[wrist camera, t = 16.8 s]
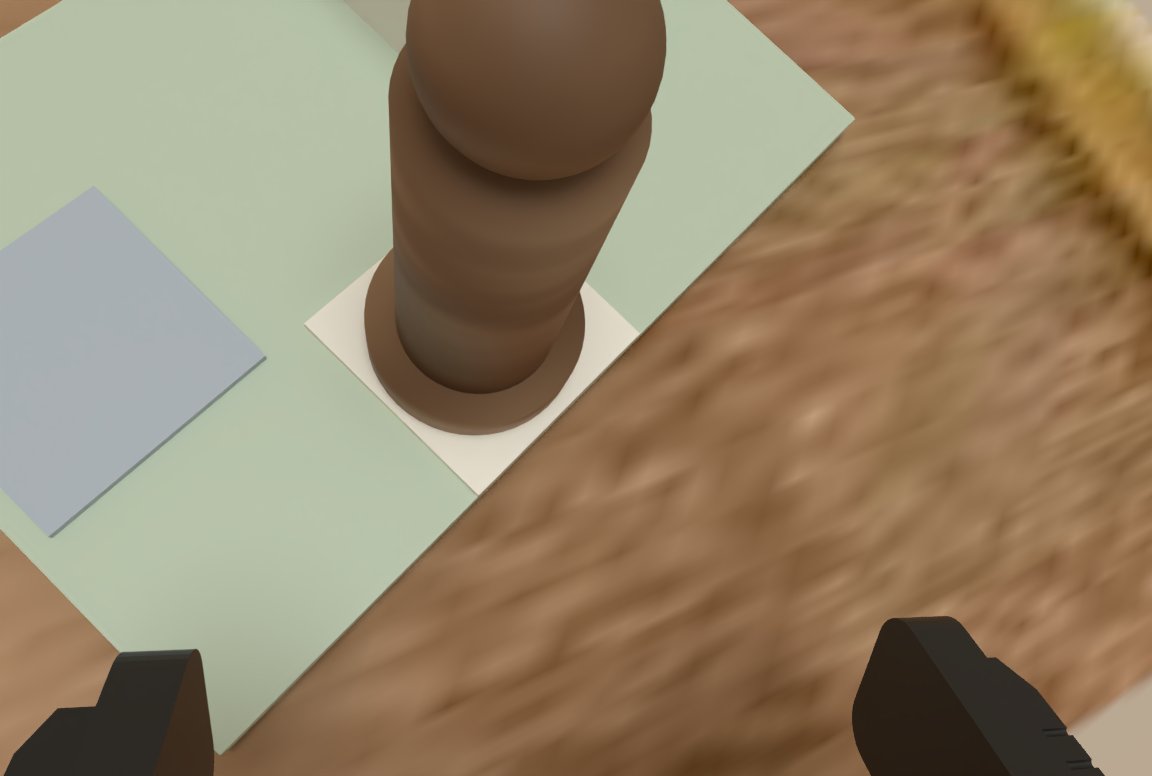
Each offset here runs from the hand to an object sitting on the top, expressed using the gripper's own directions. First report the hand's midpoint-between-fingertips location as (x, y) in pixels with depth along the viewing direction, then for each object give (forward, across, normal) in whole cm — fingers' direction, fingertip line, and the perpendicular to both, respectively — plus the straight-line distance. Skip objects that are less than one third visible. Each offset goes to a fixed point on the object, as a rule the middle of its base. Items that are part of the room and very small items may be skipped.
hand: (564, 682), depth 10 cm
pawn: (+9, 0, 0) cm, 9 cm away
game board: (+13, -3, +2) cm, 14 cm away
